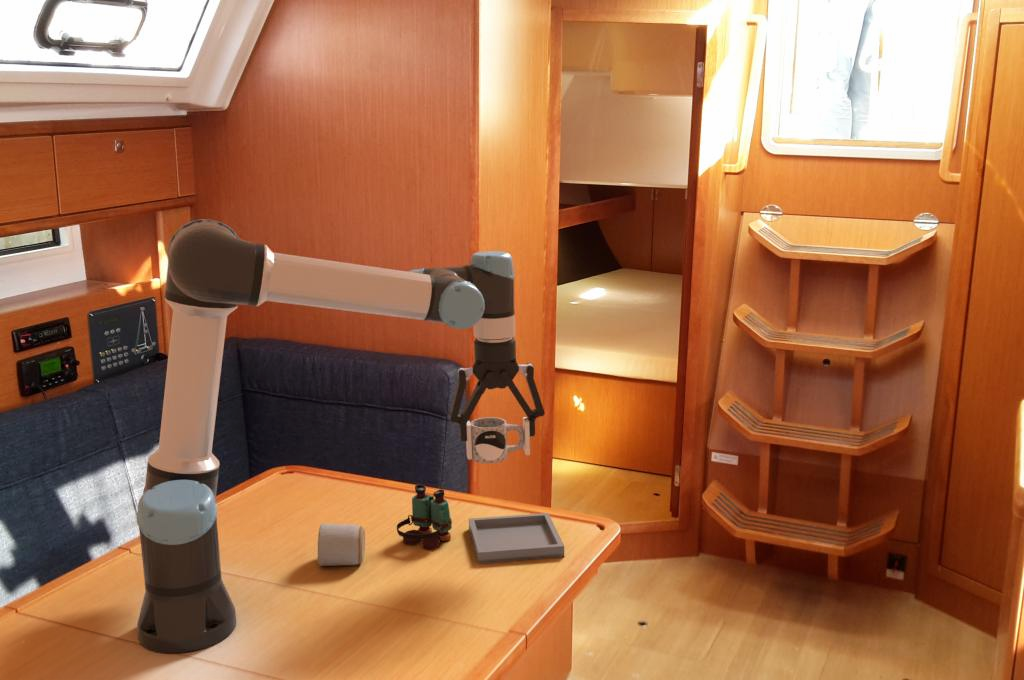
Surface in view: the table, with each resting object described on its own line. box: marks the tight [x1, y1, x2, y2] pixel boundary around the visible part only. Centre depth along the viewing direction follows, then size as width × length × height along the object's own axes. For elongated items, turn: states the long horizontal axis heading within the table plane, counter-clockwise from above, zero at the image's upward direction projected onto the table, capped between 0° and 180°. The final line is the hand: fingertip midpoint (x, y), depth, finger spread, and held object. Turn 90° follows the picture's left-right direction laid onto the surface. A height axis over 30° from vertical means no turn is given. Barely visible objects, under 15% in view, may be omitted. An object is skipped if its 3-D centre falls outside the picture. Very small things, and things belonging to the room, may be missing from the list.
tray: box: [468, 512, 565, 565], centre depth 197 cm, size 16×16×2 cm
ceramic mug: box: [317, 522, 366, 567], centre depth 190 cm, size 11×8×8 cm
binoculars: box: [396, 483, 453, 551], centre depth 197 cm, size 9×11×10 cm
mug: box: [470, 416, 524, 464], centre depth 190 cm, size 10×7×7 cm
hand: (498, 454), depth 190 cm, fingers closed on mug, 10 cm apart
